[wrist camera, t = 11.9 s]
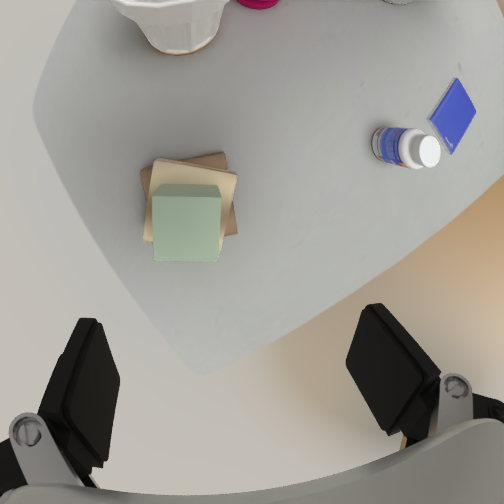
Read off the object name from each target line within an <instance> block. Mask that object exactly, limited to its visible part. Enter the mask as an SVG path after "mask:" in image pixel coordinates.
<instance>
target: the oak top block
mask: <svg viewBox="0 0 504 504" xmlns="http://www.w3.org/2000/svg"><path fill="white" fill-rule="evenodd" d="M237 177H238V175H237V174H236V173H235V172H234V171H229V170H224V169H219V168H214V167H209V166H203V165H198V164H192V163H186V162H180V161H174V160H168V159H162V158H157V159H156V160H154V164H153V169H152V175H151V181H150V188H149V194H148V201H147V208H146V216H145V224H144V233H143V241H149V242H153V226H152V196H153V194H154V193H155V192H156V190H157V189H158V188H159V186H160V185H161V184H198V185H218V188H219V191H220V194H221V197H222V203H221V219H220V236H219V253H220V252H221V247H222V243H223V238H224V234H225V229H226V225H227V220H228V216H229V212H230V207H231V203H232V199H233V194H234V190H235V186H236V182H237Z"/></svg>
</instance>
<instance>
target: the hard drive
mask: <svg viewBox="0 0 504 504" xmlns="http://www.w3.org/2000/svg"><path fill="white" fill-rule="evenodd" d="M475 114H476V110H475V108H474V106H473V104H472V102H471V100H470V98H469V96H468V95H467V93H466V91H465V89H464V88H463V86H462V84H461V83H460V81H459V79H458V78H454V79H453V80H452V82H451V83H450V85H449V87H448V88H447V90H446V91H445V93H444V94H443V96H442V97H441V99H440V100H439V102H438V103H437V105H436V106H435V108H434V109H433V111H432V112H431V114H430V115H429V117H428V118H427V121H428V122H429V124H430V125H431V127H432V128H433V130H434V131H435V133H436V134H437V136H438V138H439V139H440V141H441V142H442V144H443V146H444V147H445V149H446V151H447V152H448V154H450V155H452V153H453V152H454V150H455V149H456V147H457V145H458V144H459V142H460V140H461V138H462V137H463V135H464V133H465V132H466V130H467V128H468V126H469V125H470V123H471V121H472V119H473V117H474V115H475Z"/></svg>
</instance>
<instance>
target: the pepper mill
mask: <svg viewBox="0 0 504 504" xmlns="http://www.w3.org/2000/svg"><path fill="white" fill-rule="evenodd" d="M238 1H239V2H240V3H241V4H243V5H245V6H247V7H250V8H253V9H266V8H269V7H272V6H274V5H275V4H276V3H277V2H278V1H279V0H238Z"/></svg>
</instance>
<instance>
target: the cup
mask: <svg viewBox="0 0 504 504" xmlns="http://www.w3.org/2000/svg"><path fill="white" fill-rule="evenodd" d="M228 1H230V0H110V2H111V3H112V4H113V5H114V6H115V8H116V9H117V10H118V11H119V12H120V14H122V15H124V16H126V17H127V18H129V19H131V20H133V21H135V22H136V23H137V24H138V26H139V27H140V29H141V30H142V31H143V33H144V34H145V36H146V37H147V39H148V41H149V42H150V44H151V45H152V46H153V47H154V48H155V49H157V50H158V51H160V52H162V53H163V54H169V55H177V56H178V55H186V54H192V53H194V52H196V51H198V50H200V49H202V48H204V47H205V46H206V45H208V44H209V43H210V42H211V41H212V40H213V39H214V38H215V36H216V33H217V31H218V28H219V24H220V18H221V15H222V12H223V9H224V6H225V4H226V3H227V2H228Z"/></svg>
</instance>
